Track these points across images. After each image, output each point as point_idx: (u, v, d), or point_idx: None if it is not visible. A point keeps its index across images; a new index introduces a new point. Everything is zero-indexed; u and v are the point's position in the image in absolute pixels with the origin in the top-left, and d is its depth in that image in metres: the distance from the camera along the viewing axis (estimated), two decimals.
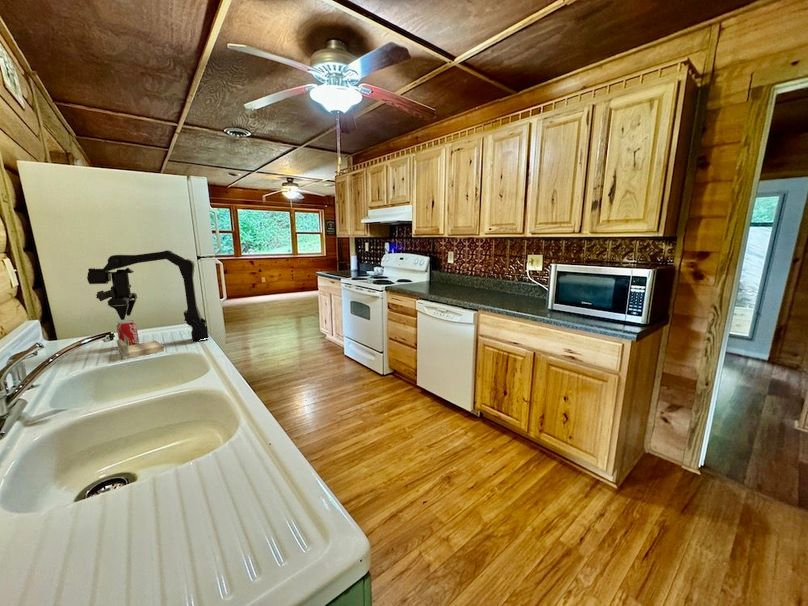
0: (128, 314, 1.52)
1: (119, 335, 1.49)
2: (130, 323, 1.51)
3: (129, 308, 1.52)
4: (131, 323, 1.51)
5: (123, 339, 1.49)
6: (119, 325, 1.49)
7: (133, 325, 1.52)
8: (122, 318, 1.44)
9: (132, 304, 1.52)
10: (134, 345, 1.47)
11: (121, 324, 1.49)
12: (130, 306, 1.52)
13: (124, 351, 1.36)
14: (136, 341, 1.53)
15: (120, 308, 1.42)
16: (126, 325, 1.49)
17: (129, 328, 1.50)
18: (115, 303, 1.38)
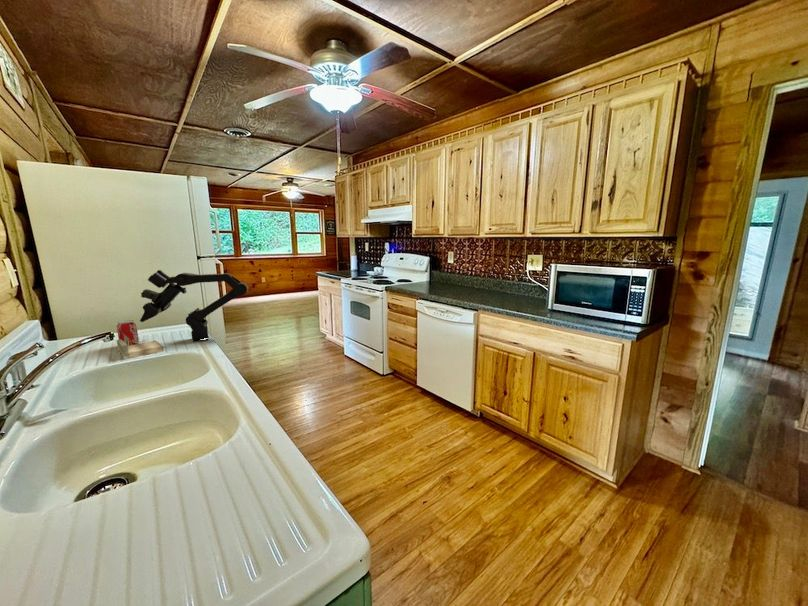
0: None
1: (119, 335, 1.49)
2: (130, 323, 1.51)
3: None
4: (131, 323, 1.51)
5: (123, 339, 1.49)
6: (119, 325, 1.49)
7: (133, 325, 1.52)
8: (141, 320, 1.49)
9: (160, 311, 1.59)
10: (134, 345, 1.47)
11: (121, 324, 1.49)
12: None
13: (124, 351, 1.36)
14: (136, 341, 1.53)
15: (148, 313, 1.49)
16: (126, 325, 1.49)
17: (129, 328, 1.50)
18: (149, 309, 1.46)
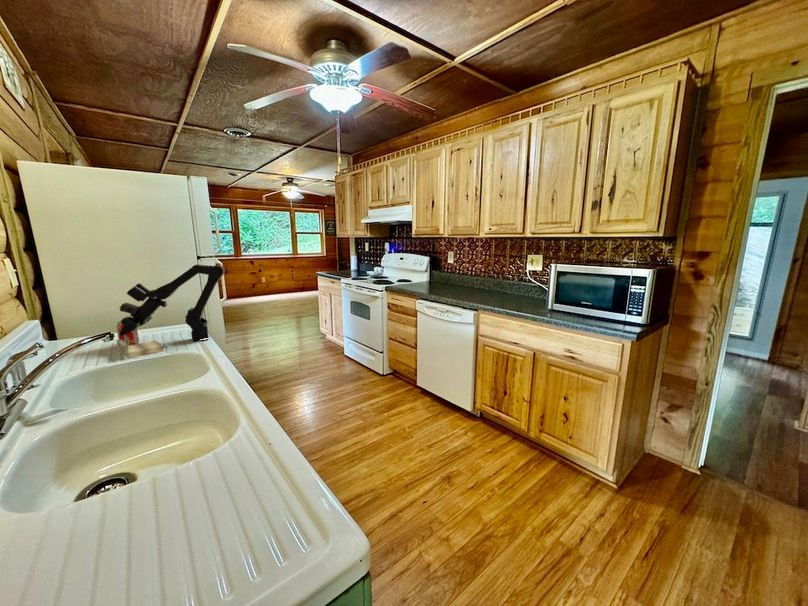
0: None
1: (119, 335, 1.49)
2: None
3: None
4: None
5: (123, 338, 1.49)
6: (119, 325, 1.49)
7: None
8: (121, 334, 1.48)
9: None
10: (134, 345, 1.47)
11: (121, 324, 1.49)
12: None
13: (124, 351, 1.36)
14: (136, 341, 1.53)
15: (127, 327, 1.48)
16: None
17: None
18: (127, 324, 1.44)
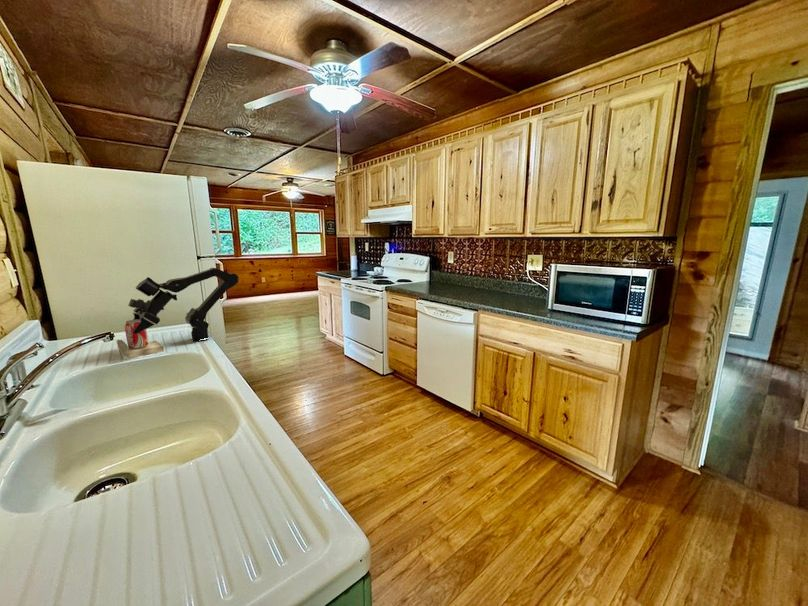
0: None
1: (131, 335, 1.40)
2: None
3: None
4: None
5: (137, 338, 1.41)
6: (131, 324, 1.40)
7: None
8: (135, 332, 1.39)
9: None
10: None
11: (134, 323, 1.40)
12: None
13: (124, 351, 1.36)
14: (147, 340, 1.46)
15: (144, 323, 1.41)
16: None
17: None
18: (150, 318, 1.39)
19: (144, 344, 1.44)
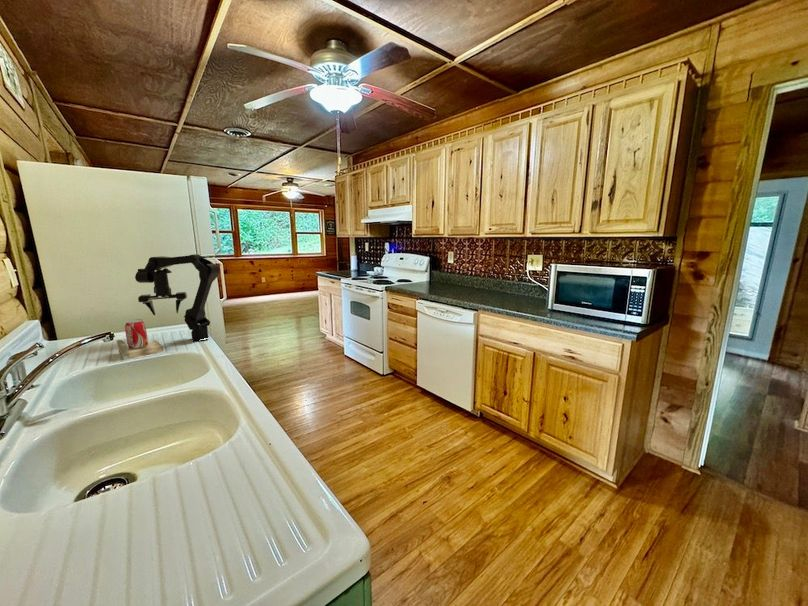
0: None
1: (131, 335, 1.40)
2: (142, 321, 1.43)
3: (176, 306, 1.62)
4: (142, 321, 1.44)
5: (137, 338, 1.41)
6: (131, 324, 1.40)
7: (144, 323, 1.44)
8: None
9: (176, 303, 1.61)
10: None
11: (134, 323, 1.40)
12: (176, 305, 1.62)
13: (124, 351, 1.36)
14: (147, 340, 1.46)
15: None
16: (139, 324, 1.42)
17: (143, 326, 1.43)
18: None
19: (144, 344, 1.44)
